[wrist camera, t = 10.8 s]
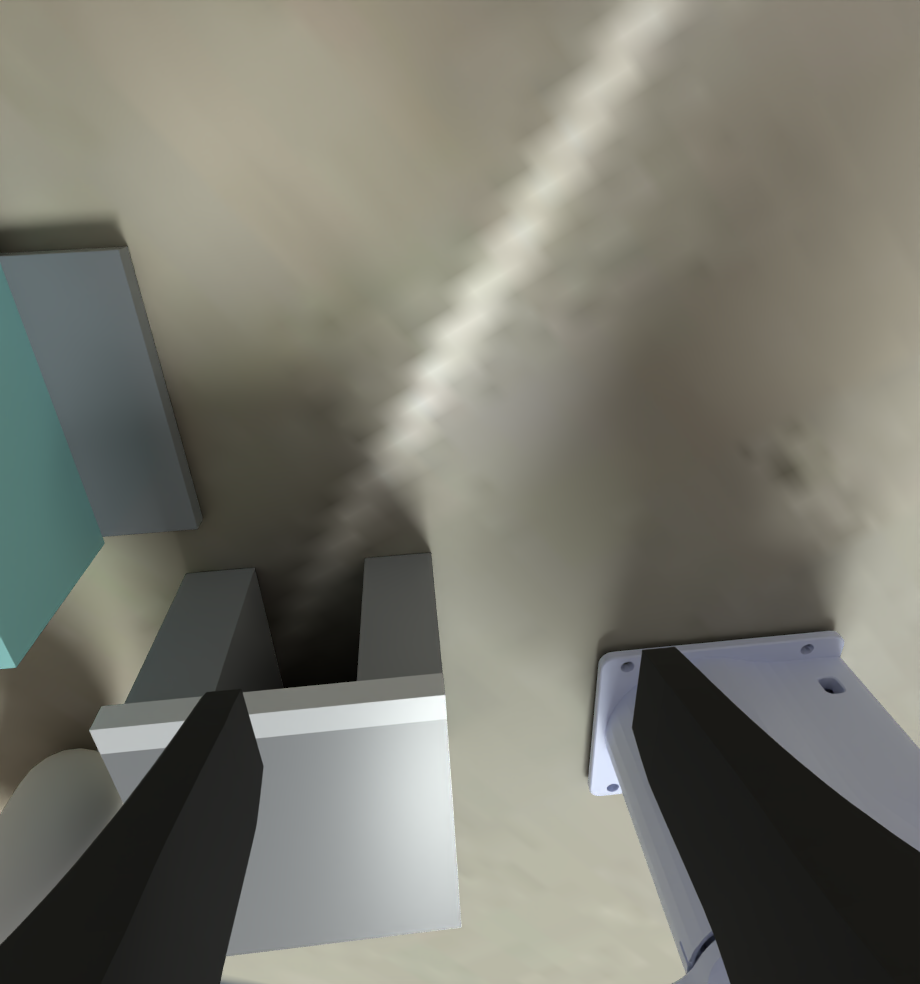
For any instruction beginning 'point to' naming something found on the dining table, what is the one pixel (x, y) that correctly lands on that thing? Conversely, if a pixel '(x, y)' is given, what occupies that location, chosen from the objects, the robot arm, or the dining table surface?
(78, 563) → the tall teal prism
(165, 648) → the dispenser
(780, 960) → the robot arm
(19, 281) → the coaster
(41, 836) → the donut
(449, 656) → the dining table surface
